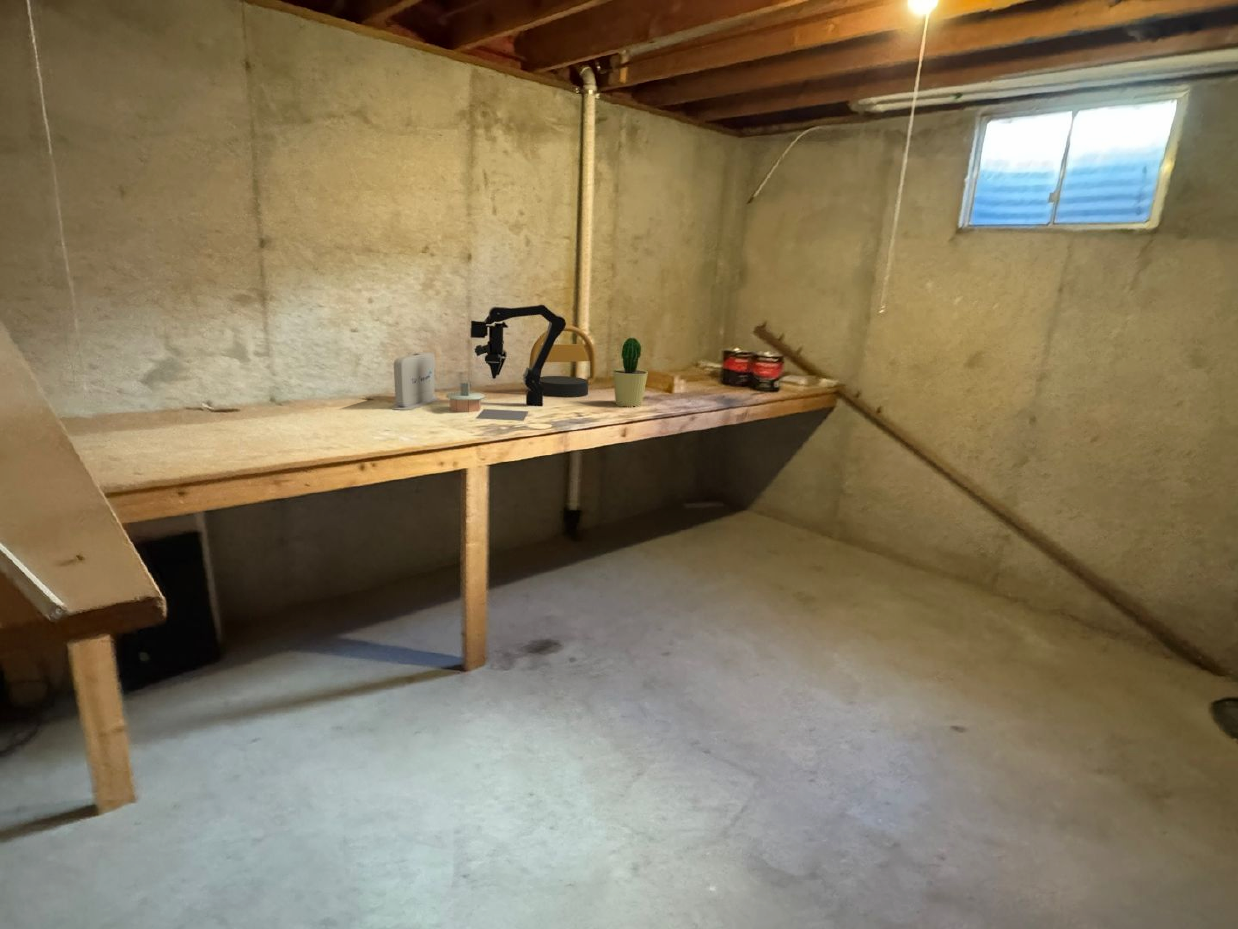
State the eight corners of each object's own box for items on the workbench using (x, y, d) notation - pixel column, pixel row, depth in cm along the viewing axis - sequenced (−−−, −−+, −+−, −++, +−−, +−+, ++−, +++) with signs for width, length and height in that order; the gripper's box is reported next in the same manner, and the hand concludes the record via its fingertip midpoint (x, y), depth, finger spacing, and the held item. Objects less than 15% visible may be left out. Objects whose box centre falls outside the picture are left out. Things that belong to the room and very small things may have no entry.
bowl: (482, 408, 279) (482, 394, 277) (477, 413, 268) (477, 399, 266) (454, 406, 279) (454, 393, 277) (447, 412, 268) (447, 398, 266)
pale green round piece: (487, 394, 279) (487, 380, 278) (481, 401, 265) (481, 386, 263) (450, 392, 279) (450, 378, 277) (441, 399, 264) (441, 384, 263)
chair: (606, 395, 323) (610, 327, 315) (539, 399, 305) (541, 327, 297) (581, 387, 344) (584, 322, 335) (516, 389, 325) (517, 322, 317)
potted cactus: (627, 409, 294) (631, 338, 286) (604, 403, 305) (607, 334, 297) (653, 406, 304) (657, 337, 296) (629, 400, 315) (633, 334, 307)
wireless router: (408, 411, 266) (406, 359, 260) (384, 409, 267) (382, 357, 262) (444, 398, 295) (443, 351, 290) (422, 396, 297) (421, 349, 292)
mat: (528, 412, 276) (528, 411, 276) (523, 421, 259) (523, 420, 258) (483, 410, 275) (483, 408, 275) (475, 419, 258) (475, 418, 258)
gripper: (480, 335, 287) (480, 372, 292) (471, 339, 269) (471, 379, 274) (507, 336, 288) (506, 373, 292) (500, 341, 270) (499, 380, 274)
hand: (495, 376), depth 283 cm, fingers open, 9 cm apart
